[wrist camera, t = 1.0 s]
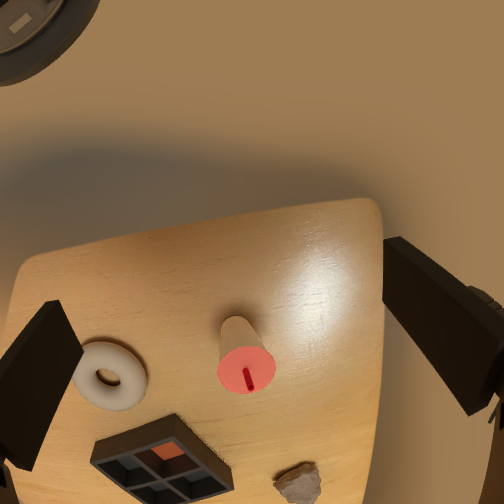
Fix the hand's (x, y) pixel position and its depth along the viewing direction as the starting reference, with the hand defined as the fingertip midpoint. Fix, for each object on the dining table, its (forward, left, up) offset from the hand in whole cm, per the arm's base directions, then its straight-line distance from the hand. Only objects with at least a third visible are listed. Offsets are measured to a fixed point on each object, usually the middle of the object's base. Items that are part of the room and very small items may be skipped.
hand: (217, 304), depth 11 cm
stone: (+45, -9, -22) cm, 51 cm away
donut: (+10, -20, -22) cm, 31 cm away
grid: (+27, -24, -22) cm, 42 cm away
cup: (+12, -3, -22) cm, 26 cm away
